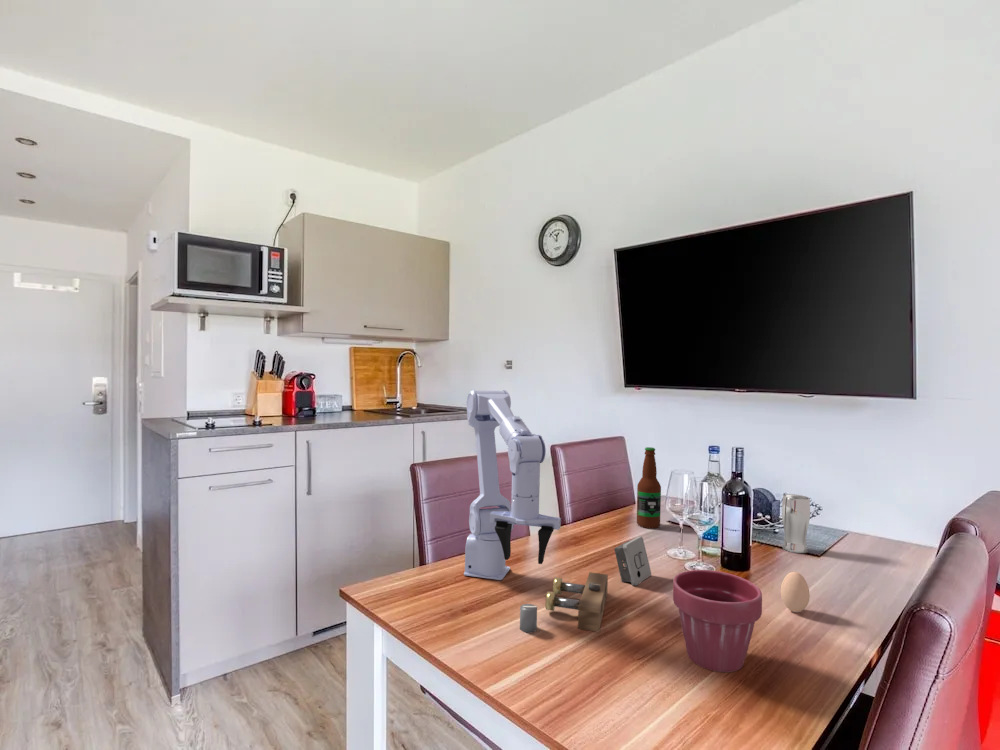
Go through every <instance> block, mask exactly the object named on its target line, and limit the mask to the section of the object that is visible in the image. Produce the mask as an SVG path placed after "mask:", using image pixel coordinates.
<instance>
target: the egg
mask: <svg viewBox="0 0 1000 750" xmlns="http://www.w3.org/2000/svg"><path fill="white" fill-rule="evenodd" d="M810 596H811V595H810V589H809V585H808V583H807V580H806V578H805V577H804V575H802V574H801V573H799V572H797V571H790V572H789V573H787V574H786V576H785V577H784V578H783V580H782V583H781V586H780V598H781V601H782V603H783V604H784V606H785V607H786V608H787V609H788V610H789V611H791V612H793V613H800V612H803V611H805V609H806V608H807V607H808V605H809V603H810V598H811V597H810Z"/></svg>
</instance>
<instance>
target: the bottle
mask: <svg viewBox="0 0 1000 750" xmlns="http://www.w3.org/2000/svg"><path fill="white" fill-rule="evenodd" d="M644 450H645V452H644V460H643V464H642V473H641V475H642V476H641V478H640V480H639V482H638V483H637V488H636V490H637V491H636V492H637V495H636V524H637V525H638V526H639V527H641V528H643V529H651V530H652V529H657V528H660V526H661V508H662V507H661V505H662V504H661V503H662V486H661V483H660V482H659V480H658V479H657V474H658V473H657V463H656V457H655V455H656V453H655V452H656V448H655V447H645V448H644Z"/></svg>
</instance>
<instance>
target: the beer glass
mask: <svg viewBox="0 0 1000 750" xmlns="http://www.w3.org/2000/svg"><path fill="white" fill-rule="evenodd" d="M781 505H782V506H781V516H782V518H781V519H782V524H783V530H784V539H783V544H782V549H783V550H784V551H786V552H788V553H789V552H790V553H793V554H794V553H795V554H807V553H808V547H807V535H808V534H807V533H808V529H809V524H810V519H811V501H810V497H808V496H807V495H806V496H805V495H802V494H795V493H787V494H783V495H782V504H781Z"/></svg>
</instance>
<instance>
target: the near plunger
mask: <svg viewBox="0 0 1000 750" xmlns="http://www.w3.org/2000/svg"><path fill="white" fill-rule="evenodd" d="M580 600H581V599H572V598H566V597H559V596H557V594H556V593H555V592H553V591H546V595H545V605H544V606H545V610H547V611H555V608H562V609H563V608H564V609H570V610H577V611H578V606H579V603H580Z"/></svg>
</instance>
